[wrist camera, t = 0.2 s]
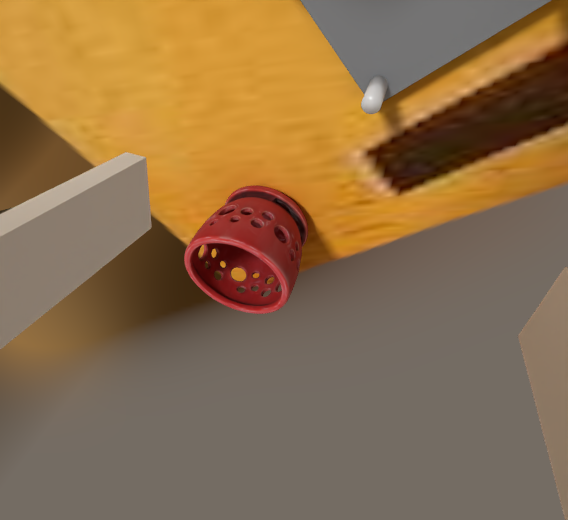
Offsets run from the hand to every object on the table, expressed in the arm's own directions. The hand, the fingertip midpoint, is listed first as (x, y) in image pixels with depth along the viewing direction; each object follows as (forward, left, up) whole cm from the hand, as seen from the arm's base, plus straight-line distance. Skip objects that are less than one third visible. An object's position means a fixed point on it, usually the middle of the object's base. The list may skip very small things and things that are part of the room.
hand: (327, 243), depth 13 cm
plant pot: (+27, +11, -27) cm, 40 cm away
